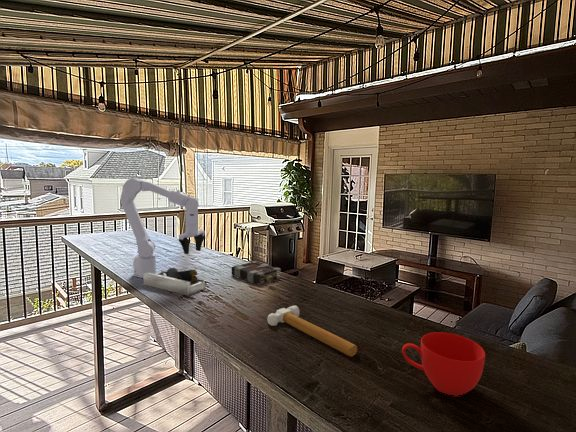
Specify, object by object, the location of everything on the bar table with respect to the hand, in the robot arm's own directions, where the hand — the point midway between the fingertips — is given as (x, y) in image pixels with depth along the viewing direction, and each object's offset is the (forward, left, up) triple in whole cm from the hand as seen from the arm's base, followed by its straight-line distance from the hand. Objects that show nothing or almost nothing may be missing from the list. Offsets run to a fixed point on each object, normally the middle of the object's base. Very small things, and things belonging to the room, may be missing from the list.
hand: (192, 252), depth 157 cm
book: (+32, +10, -10) cm, 35 cm away
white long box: (+7, -17, -10) cm, 21 cm away
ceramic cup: (+109, -34, -10) cm, 115 cm away
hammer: (+74, -27, -11) cm, 79 cm away
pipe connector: (+6, -12, -10) cm, 17 cm away
